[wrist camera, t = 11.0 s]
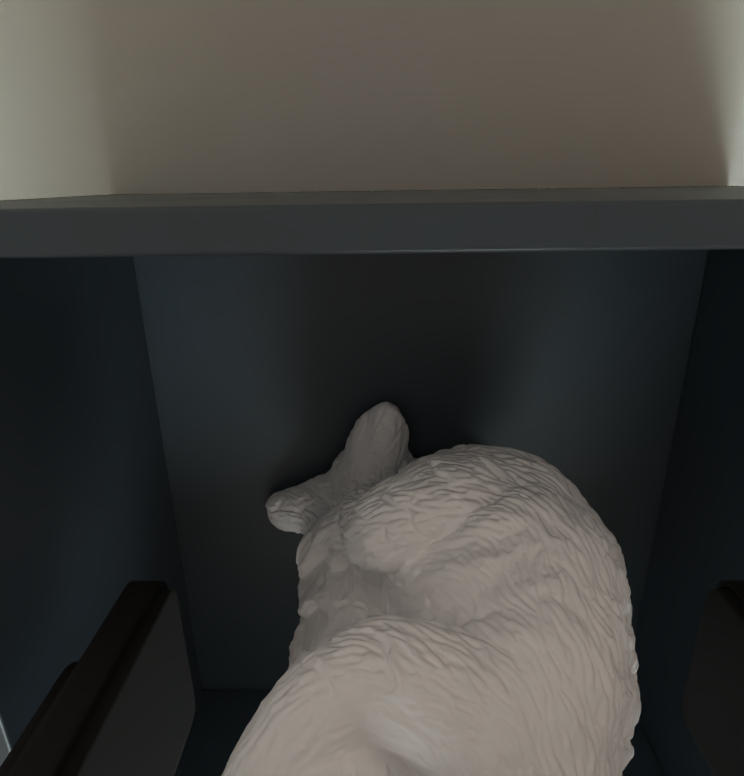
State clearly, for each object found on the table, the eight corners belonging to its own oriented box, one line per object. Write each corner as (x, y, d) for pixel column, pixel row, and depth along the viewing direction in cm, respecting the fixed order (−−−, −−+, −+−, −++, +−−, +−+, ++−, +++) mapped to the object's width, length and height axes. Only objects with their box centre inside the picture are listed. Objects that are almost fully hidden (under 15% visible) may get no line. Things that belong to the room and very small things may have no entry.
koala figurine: (219, 559, 16) (-194, 1545, 4) (266, 333, 13) (-351, 1181, 2) (505, 623, 16) (793, 1617, 5) (597, 419, 14) (1496, 1398, 3)
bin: (730, 185, 12) (1181, 192, 5) (631, 687, 18) (796, 1019, 11) (111, 194, 13) (-219, 211, 6) (193, 687, 18) (73, 1013, 11)
